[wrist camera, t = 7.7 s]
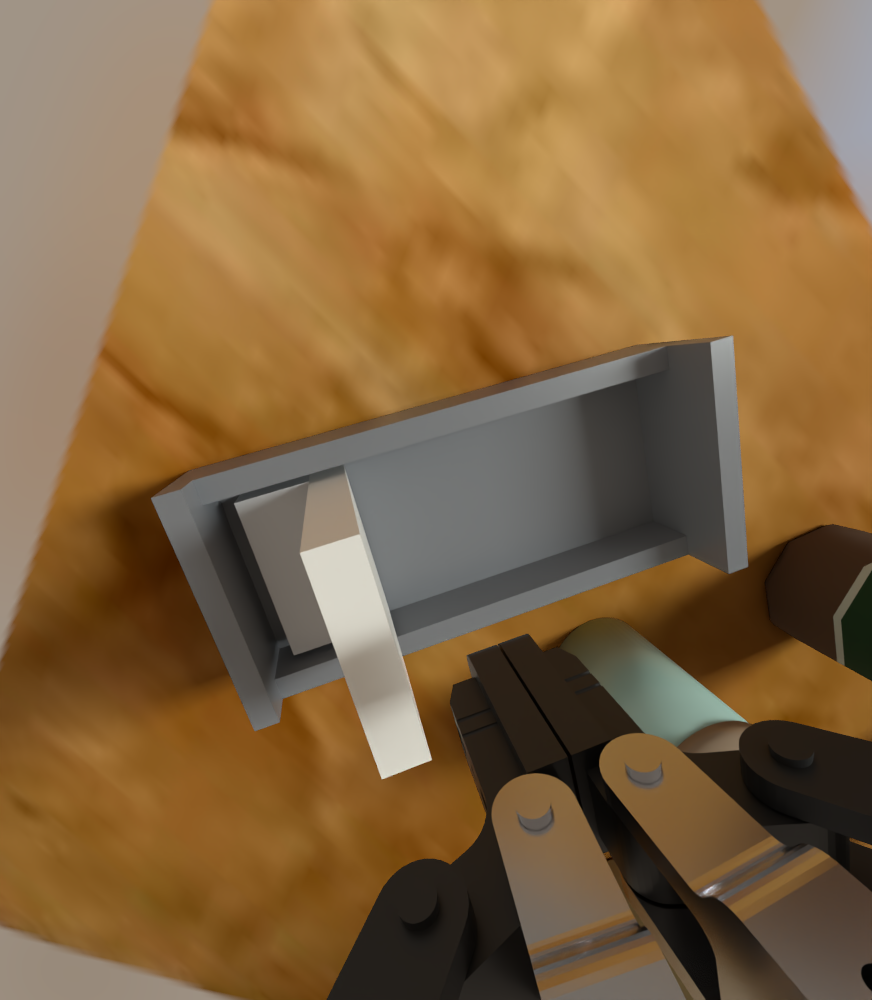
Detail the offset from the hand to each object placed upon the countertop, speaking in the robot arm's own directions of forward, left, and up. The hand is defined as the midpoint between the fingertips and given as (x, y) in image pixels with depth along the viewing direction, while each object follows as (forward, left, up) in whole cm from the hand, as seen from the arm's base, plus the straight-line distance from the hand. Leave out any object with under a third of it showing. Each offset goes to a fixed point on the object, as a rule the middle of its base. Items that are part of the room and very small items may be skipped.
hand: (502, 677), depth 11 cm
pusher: (+4, 0, -12) cm, 13 cm away
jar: (-8, +12, -13) cm, 20 cm away
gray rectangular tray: (-2, 0, -13) cm, 14 cm away
